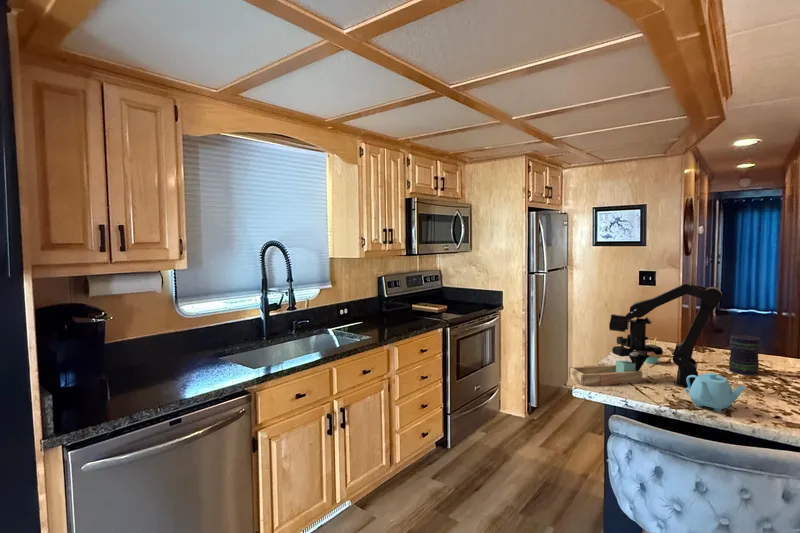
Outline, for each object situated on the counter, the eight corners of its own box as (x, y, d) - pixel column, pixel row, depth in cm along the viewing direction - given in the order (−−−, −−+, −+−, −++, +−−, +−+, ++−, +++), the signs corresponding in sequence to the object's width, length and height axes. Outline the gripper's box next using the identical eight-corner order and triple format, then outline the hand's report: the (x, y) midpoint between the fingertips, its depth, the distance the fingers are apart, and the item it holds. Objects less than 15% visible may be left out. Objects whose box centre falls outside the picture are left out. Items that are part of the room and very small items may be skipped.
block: (635, 376, 175) (635, 363, 174) (623, 376, 174) (624, 364, 174) (626, 372, 179) (627, 360, 179) (615, 372, 179) (616, 360, 178)
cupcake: (656, 360, 202) (657, 334, 201) (665, 365, 193) (666, 338, 193) (636, 359, 203) (637, 334, 202) (645, 365, 194) (646, 338, 194)
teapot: (748, 416, 138) (750, 381, 138) (701, 414, 140) (702, 380, 140) (721, 399, 153) (722, 367, 153) (678, 397, 155) (679, 366, 155)
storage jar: (764, 376, 177) (765, 340, 176) (736, 374, 179) (738, 339, 178) (749, 368, 187) (751, 334, 186) (723, 367, 189) (725, 333, 188)
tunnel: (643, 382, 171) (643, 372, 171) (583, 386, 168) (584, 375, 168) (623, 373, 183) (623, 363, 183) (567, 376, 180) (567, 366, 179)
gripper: (645, 328, 186) (644, 364, 187) (604, 330, 183) (603, 366, 184) (664, 334, 175) (663, 372, 176) (621, 336, 172) (620, 374, 173)
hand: (636, 371), depth 177 cm, fingers closed
